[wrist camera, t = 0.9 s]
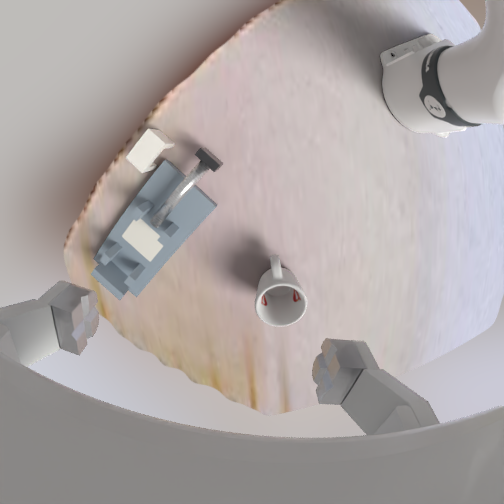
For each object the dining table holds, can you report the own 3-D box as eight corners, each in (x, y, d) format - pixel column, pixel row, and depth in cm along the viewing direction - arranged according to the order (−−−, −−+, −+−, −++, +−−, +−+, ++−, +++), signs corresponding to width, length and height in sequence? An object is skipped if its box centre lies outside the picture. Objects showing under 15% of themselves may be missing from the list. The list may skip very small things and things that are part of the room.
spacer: (138, 156, 41) (125, 157, 36) (159, 130, 39) (148, 128, 35) (153, 169, 42) (141, 173, 37) (175, 143, 40) (165, 143, 35)
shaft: (205, 147, 39) (200, 147, 35) (223, 163, 40) (220, 165, 36) (149, 213, 42) (140, 220, 39) (166, 227, 43) (157, 236, 39)
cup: (248, 249, 47) (247, 269, 39) (296, 242, 46) (304, 261, 39) (258, 304, 51) (258, 330, 43) (301, 297, 50) (308, 323, 43)
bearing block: (167, 159, 41) (153, 162, 35) (217, 204, 44) (211, 214, 38) (97, 255, 47) (80, 269, 41) (139, 293, 50) (126, 311, 44)
